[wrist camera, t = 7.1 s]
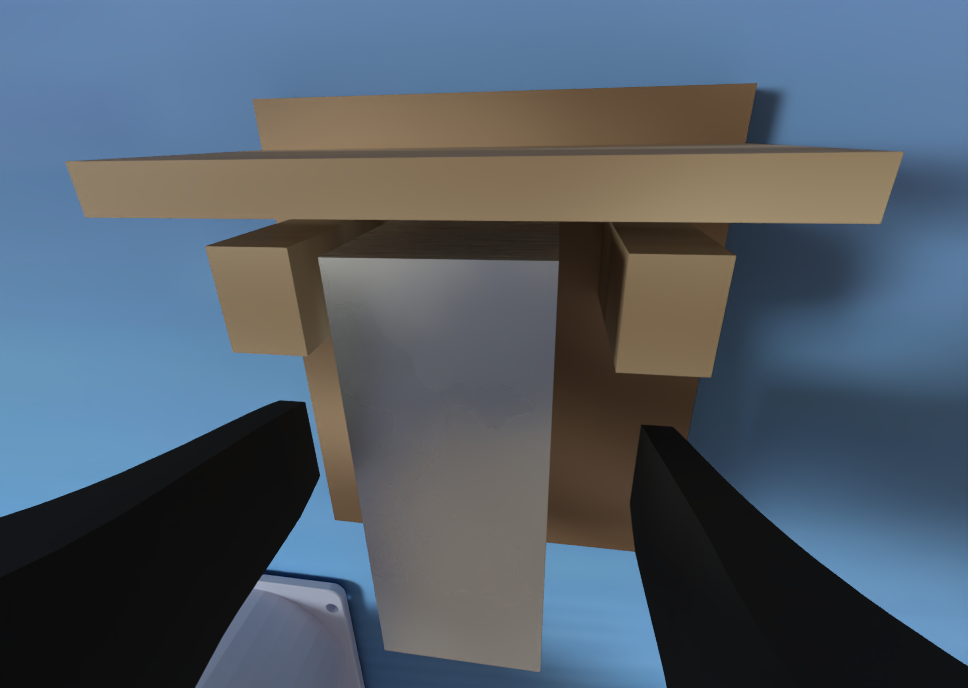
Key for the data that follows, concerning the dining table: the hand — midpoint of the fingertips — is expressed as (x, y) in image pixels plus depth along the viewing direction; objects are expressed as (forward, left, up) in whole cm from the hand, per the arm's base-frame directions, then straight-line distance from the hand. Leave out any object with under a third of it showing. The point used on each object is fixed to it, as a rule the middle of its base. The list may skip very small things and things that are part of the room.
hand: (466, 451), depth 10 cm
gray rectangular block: (0, 0, -3) cm, 3 cm away
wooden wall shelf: (+1, 0, -4) cm, 4 cm away
